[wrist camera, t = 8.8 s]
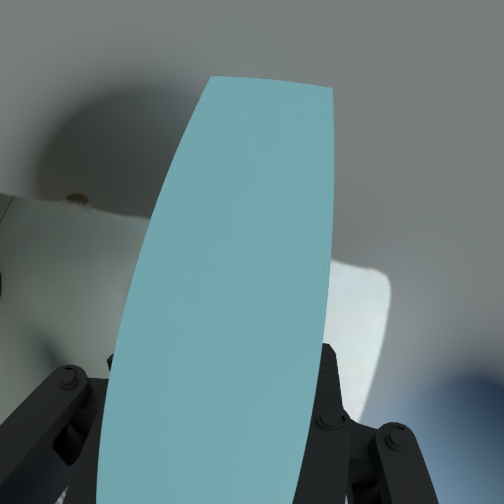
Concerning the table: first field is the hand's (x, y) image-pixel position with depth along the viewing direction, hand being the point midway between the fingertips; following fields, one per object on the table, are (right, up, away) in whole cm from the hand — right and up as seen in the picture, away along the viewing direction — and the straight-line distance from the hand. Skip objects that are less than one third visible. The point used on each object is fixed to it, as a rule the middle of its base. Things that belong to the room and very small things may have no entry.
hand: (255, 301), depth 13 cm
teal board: (0, -4, +6) cm, 7 cm away
